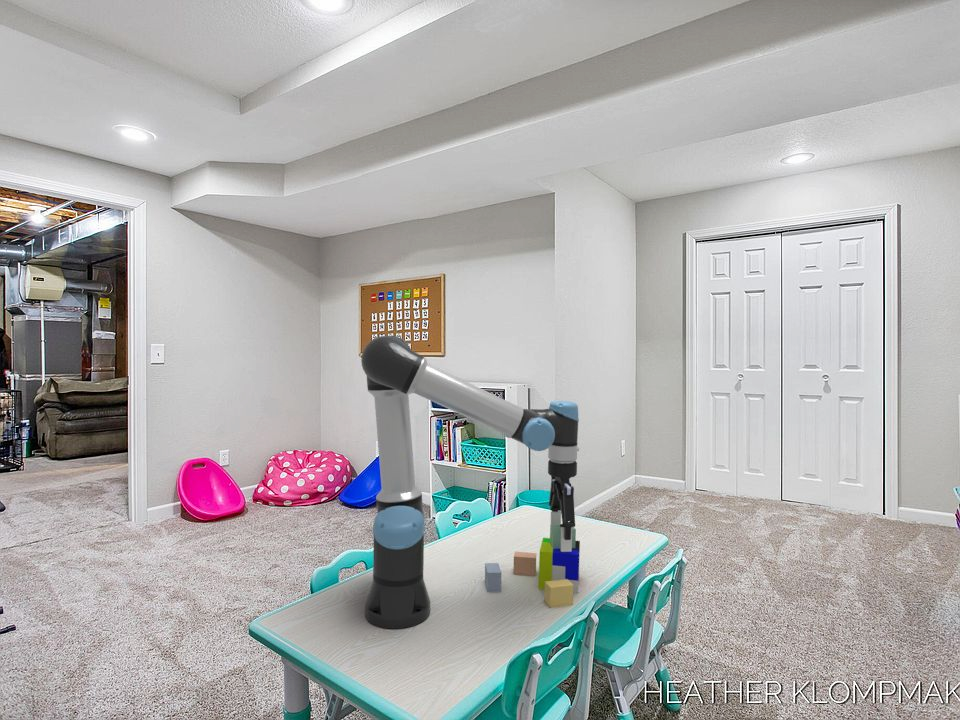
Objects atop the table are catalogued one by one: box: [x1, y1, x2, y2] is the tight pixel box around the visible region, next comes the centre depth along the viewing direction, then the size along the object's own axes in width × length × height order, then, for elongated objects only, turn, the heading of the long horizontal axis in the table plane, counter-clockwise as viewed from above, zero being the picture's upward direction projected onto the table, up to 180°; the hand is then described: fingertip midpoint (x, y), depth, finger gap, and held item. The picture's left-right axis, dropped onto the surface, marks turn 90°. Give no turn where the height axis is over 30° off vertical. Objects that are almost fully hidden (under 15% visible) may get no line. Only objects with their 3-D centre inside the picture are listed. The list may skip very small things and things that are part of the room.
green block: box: [549, 525, 577, 549], centre depth 147 cm, size 6×4×5 cm, turn 96°
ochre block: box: [543, 579, 574, 608], centre depth 136 cm, size 6×4×5 cm, turn 106°
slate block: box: [484, 562, 502, 593], centre depth 144 cm, size 6×4×5 cm, turn 6°
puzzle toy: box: [538, 537, 581, 594], centre depth 147 cm, size 10×10×10 cm
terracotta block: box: [512, 551, 537, 577], centre depth 154 cm, size 6×4×5 cm, turn 81°
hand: (560, 542), depth 147 cm, fingers open, 10 cm apart
